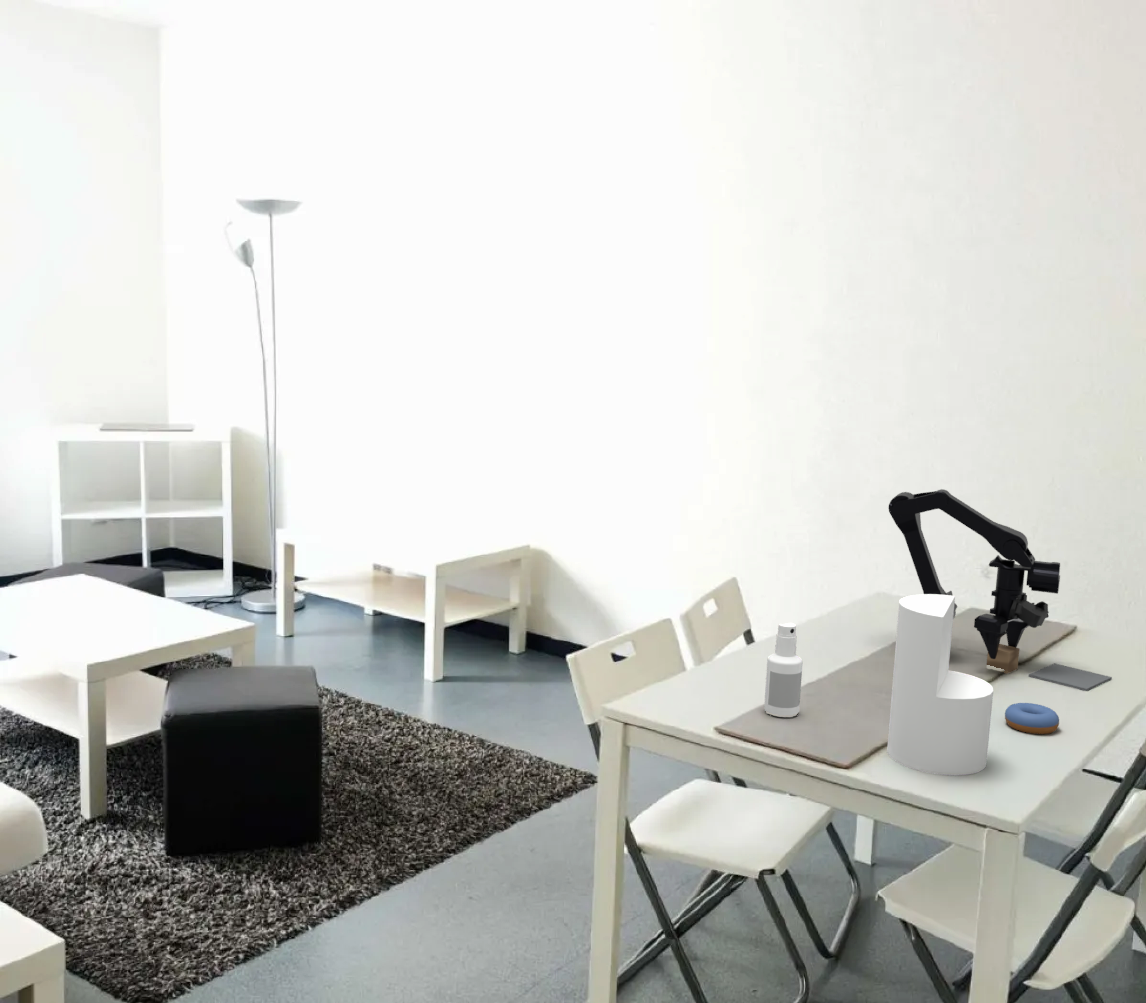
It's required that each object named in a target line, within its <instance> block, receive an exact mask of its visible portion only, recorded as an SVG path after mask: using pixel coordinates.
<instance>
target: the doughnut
mask: <svg viewBox="0 0 1146 1003" xmlns="http://www.w3.org/2000/svg"><path fill="white" fill-rule="evenodd" d="M1004 719H1005V722H1006V724H1007V725H1008V726H1009V727H1010V728H1011V729H1014V730H1017V731H1018V730H1019V732H1022V733H1025V732H1026V734H1033V735H1046V734H1047V735H1049V734H1052V733H1054V732H1056V731H1057V730H1058V728H1059V725H1060V717H1059V715H1058V714H1057V712H1056V711H1055V710H1053V709H1051V708H1050V707H1048V706H1045V705H1042V704H1038V703H1031V702H1017V703H1013V704H1011V705H1009V706H1007V708H1006V710H1005V712H1004Z"/></svg>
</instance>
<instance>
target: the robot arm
mask: <svg viewBox="0 0 1146 1003" xmlns="http://www.w3.org/2000/svg"><path fill="white" fill-rule="evenodd" d="M934 510H940V511H941V512H944V513H945V514H947V515H949V516H950V517H951V518H953V519H955V520H956V521H958V522H959V523H961V524H962V525H963V526H965V527H967V528H969V529H970V530H971V531H973V532H975V533H976V534H978V535H979V536H981V537H982V538H983V539H985V541H987V543H988V544H989V545H990V547H992V548H993V549H994V550H995V551H996V552H997V553H999V554H997V555H996V556H995V557H994V558H993V559H992V560H990V562H989V564H988V566H989V567H992V568H997V570H996V571H997V572H996V581H995V589H994V590H992V591H991V596H992V597H994V602H993V607H991V608H990V609H989V613H984V614H980V615H979V616H977V617H975V618H974V620H973V621H974V622H973V624H974V625H973V628H975V629H976V631H977V632H979V634H980V636H981V638H982V640H983V643H984V645H985V648H986V650H987V654H988V653H989V656H990V658H991V659H996V656H997V652H998V648H999V644H1001V643H1000V642H1001V638H1003V637H1004V636H1005V635H1006V640H1007V646H1011V647H1015V648H1018V645H1019V642H1020V640H1021V638H1022V635H1023V633H1024V631H1025V629H1027V628H1028V627H1030V628H1033V629H1035V628H1038V627H1039V626H1040V627H1041V626H1043V625H1044V624H1043V623H1044V622H1045V620H1046V619H1048V618H1049V613H1050V611H1049V604H1048V603H1046V602H1045V601H1044V600H1043V601H1039V602H1037V603H1035V602H1030V601H1028V595H1027V593H1026V592H1023V591H1024V582H1025V581H1024V580H1025V573H1026V572H1027V575H1026V584H1025V585H1026V586H1028V588H1030V590H1031V591H1032V592H1033V591H1034V592H1041V593H1050V594H1057V595H1059V591H1060V590H1059V589H1060V582H1061V575H1060V572H1061V571H1060V570H1061V562H1057V561H1052V562H1048V561H1041V560H1036V558H1035V556H1034V554H1033V553H1032V552H1031V550H1030V549H1029V547H1028V545H1029V542H1028V538H1027V536H1026V535H1025V534H1024V533H1023V532H1021V531H1019V530H1017V529H1015V528H1012V527H1010V526H1008V525H1004V524H1001V523H998V522H995V521H993V520H991V519H990V518H988V517H987V516H986V515H984V514H983V513H981V512H979V511H978V510H976V509H975V508H973V507H971V506H970V505H968V504H966V503H965V502H963V501H962V500H960V499H958V498H957V497H956V496H954V495H952V494H951V493H950V491H948V490H947V489H942V488H941V489H937V490H935V491H928V492H927V491H926V492H920V493H914V494H913V493H911V492H910V491H909V492H908V491H903V492H900V493H898V494H897V495H895V496H894V497H892V499H891V500H890V501H889V504H888V512H889V515H890V516H891V518H892V519H893V521H894V524H895V525H896V527H897V528H898V529H899V530H900V532H901V534H902V535H903V537H904V540H905V542H906V545H907V548H908V551H909V555H910V557H911V560H912V563H913V567H914V569H915V571H916V575H917V577H918V581H919V583H920V586H921V589H922V592H923V594H939V595H951V596H954V595H953V592H952V590H949V591H948V592H947V591H945V589H944V588H943V587H942V584H941V583H940V580H939V576H938V574H937V570H936V567H935V564H934V562H933V559H932V557H931V556H932V555H931V552H930V550H929V547H928V545H927V541H926V539H925V537H924V533H923V530H922V521H921V513H925V512H928V511H934ZM1001 556H1002V557H1003V558H1004V559H1003V558H1001ZM957 608H958V605H957V603H954V614H953V620H954V619H955V617H956V615H957V614H956V612H957Z"/></svg>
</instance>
